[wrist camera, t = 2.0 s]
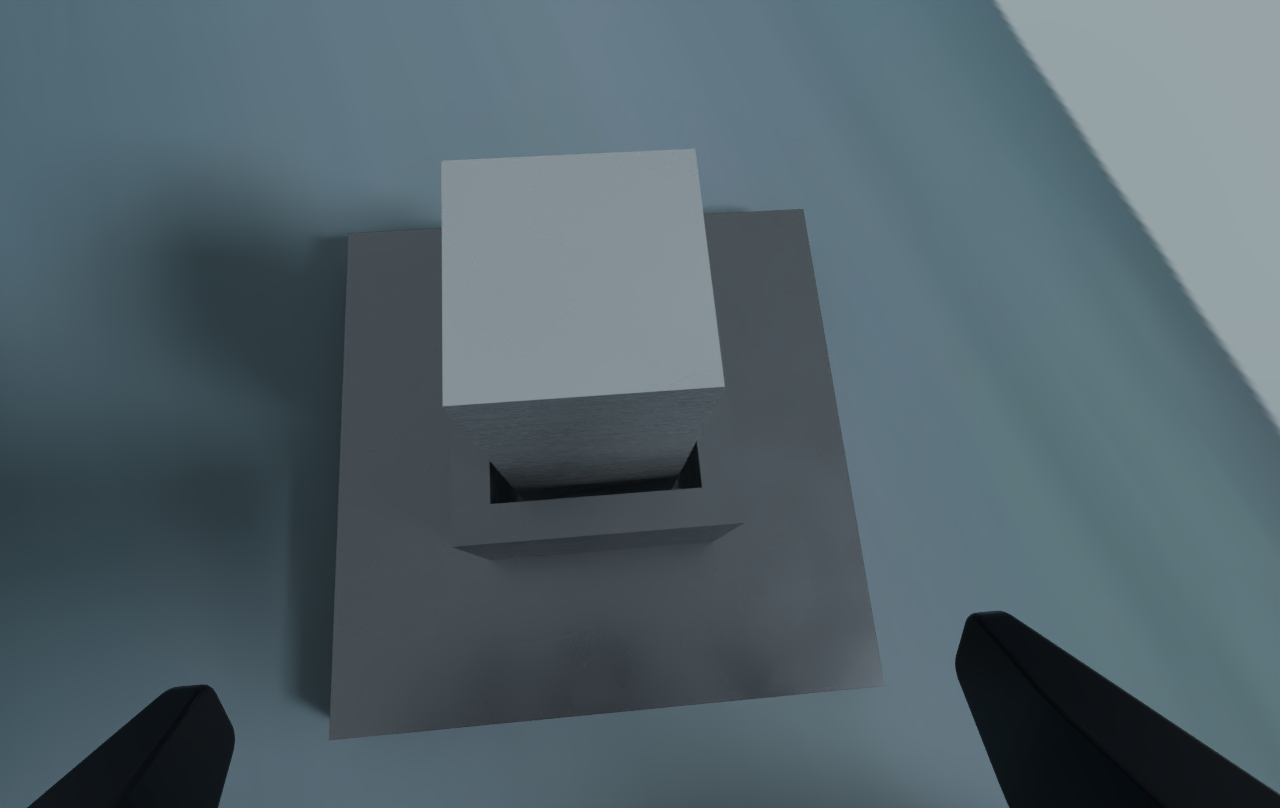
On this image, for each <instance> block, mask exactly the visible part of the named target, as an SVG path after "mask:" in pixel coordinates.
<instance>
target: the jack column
mask: <svg viewBox="0 0 1280 808" xmlns="http://www.w3.org/2000/svg"><path fill="white" fill-rule="evenodd" d="M441 163H442V382H443V407H444V408H445V410H446V411H447V412H448V413H449V414H450V415H451V417H452V418H453V419H454V420H455V421H456V422H457V424H458V425H459V426H460V427H461V428H462V429H463V430H464V432H465V433H466V434H467V435H468V436H469V437H470V439H471V440H472V441H473V442H474V443H475V444H476V445H477V447H478V448H479V449H480V450H481V451H482V452H483V454H484V455H485V456H486V457H487V458H488V459H489V461H490V462H491V463H492V464H493V465H494V466H495V467H496V469H497V470H498V471H499V472H500V473H501V474H502V476H503V477H504V478H505V479H506V480H507V481H508V482H509V484H510V485H511V486H512V487H513V488H514V489H515V491H516V492H517V493H518V494H519V495H520V496H521V498H522V499H523V500H524V501H537V500H550V499H563V498H576V497H589V496H601V495H614V494H627V493H640V492H652V491H665V490H671V489H672V487H673V485H674V483H675V481H676V479H677V477H678V476H679V474H680V472H681V470H682V468H683V466H684V464H685V462H686V460H687V458H688V456H689V455H690V453H691V451H692V449H693V447H694V445H695V443H696V441H697V439H698V437H699V435H700V433H701V432H702V430H703V428H704V426H705V424H706V422H707V420H708V418H709V416H710V414H711V412H712V410H713V409H714V407H715V405H716V403H717V401H718V399H719V397H720V395H721V393H722V391H723V389H724V387H725V384H724V376H723V368H722V360H721V352H720V344H719V336H718V328H717V319H716V311H715V303H714V295H713V287H712V279H711V271H710V263H709V255H708V247H707V239H706V231H705V223H704V215H703V207H702V199H701V191H700V183H699V175H698V167H697V159H696V151H695V149H679V150H658V151H637V152H616V153H595V154H574V155H553V156H532V157H511V158H491V159H470V160H449V161H441Z"/></svg>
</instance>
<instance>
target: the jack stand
mask: <svg viewBox="0 0 1280 808" xmlns="http://www.w3.org/2000/svg"><path fill="white" fill-rule="evenodd" d="M703 215H704V223H705V231H706V239H707V247H708V255H709V263H710V271H711V279H712V287H713V295H714V303H715V311H716V319H717V328H718V336H719V344H720V352H721V360H722V368H723V376H724V384H725V387H724V389H723V391H722V393H721V395H720V397H719V399H718V401H717V403H716V405H715V407H714V409H713V410H712V412H711V414H710V416H709V418H708V420H707V422H706V424H705V426H704V428H703V430H702V432H701V433H700V435H699V437H698V439H697V441H696V443H695V445H694V447H693V449H692V451H691V453H690V455H689V456H688V458H687V460H686V462H685V464H684V466H683V468H682V470H681V472H680V474H679V476H678V477H677V479H676V481H675V483H674V485H673V487H672V489H671V490H665V491H652V492H640V493H627V494H614V495H601V496H589V497H576V498H563V499H550V500H537V501H524V500H523V499H522V498H521V496H520V495H519V494H518V493H517V492H516V491H515V489H514V488H513V487H512V486H511V485H510V484H509V482H508V481H507V480H506V479H505V478H504V477H503V476H502V474H501V473H500V472H499V471H498V470H497V469H496V467H495V466H494V465H493V464H492V463H491V462H490V461H489V459H488V458H487V457H486V456H485V455H484V454H483V452H482V451H481V450H480V449H479V448H478V447H477V445H476V444H475V443H474V442H473V441H472V440H471V439H470V437H469V436H468V435H467V434H466V433H465V432H464V430H463V429H462V428H461V427H460V426H459V425H458V424H457V422H456V421H455V420H454V419H453V418H452V417H451V415H450V414H449V413H448V412H447V411H446V410H445V408H444V407H443V382H442V228H439V229H421V230H402V231H383V232H365V233H348V256H347V283H346V309H345V335H344V362H343V388H342V414H341V441H340V467H339V493H338V520H337V546H336V572H335V599H334V625H333V651H332V678H331V704H330V730H329V740H337V739H347V738H357V737H368V736H378V735H388V734H398V733H408V732H419V731H429V730H439V729H449V728H460V727H470V726H480V725H490V724H500V723H511V722H521V721H531V720H541V719H551V718H562V717H572V716H582V715H592V714H603V713H613V712H623V711H633V710H643V709H654V708H664V707H674V706H684V705H695V704H705V703H715V702H725V701H735V700H746V699H756V698H766V697H776V696H787V695H797V694H807V693H817V692H827V691H838V690H848V689H858V688H868V687H878V686H885V685H884V679H883V673H882V667H881V662H880V656H879V650H878V644H877V638H876V632H875V627H874V621H873V615H872V609H871V603H870V597H869V591H868V586H867V580H866V574H865V568H864V562H863V556H862V551H861V545H860V539H859V533H858V527H857V521H856V515H855V510H854V504H853V498H852V492H851V486H850V480H849V474H848V469H847V463H846V457H845V451H844V445H843V439H842V434H841V428H840V422H839V416H838V410H837V404H836V398H835V393H834V387H833V381H832V375H831V369H830V363H829V358H828V352H827V346H826V340H825V334H824V328H823V322H822V317H821V311H820V305H819V299H818V293H817V287H816V282H815V276H814V270H813V264H812V258H811V252H810V246H809V241H808V235H807V229H806V223H805V217H804V211H803V209H794V210H775V211H756V212H738V213H719V214H703Z"/></svg>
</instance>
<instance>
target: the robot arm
mask: <svg viewBox="0 0 1280 808" xmlns="http://www.w3.org/2000/svg"><path fill="white" fill-rule="evenodd" d="M955 667H956V673H957V677H958V680H959V682H960V685H961V688H962V690H963V693H964V695H965V698H966V700H967V703H968V705H969V708H970V711H971V713H972V716H973V718H974V721H975V723H976V726H977V728H978V731H979V734H980V736H981V739H982V741H983V744H984V746H985V749H986V751H987V754H988V756H989V759H990V762H991V764H992V767H993V769H994V772H995V774H996V777H997V779H998V782H999V784H1000V787H1001V789H1002V792H1003V794H1004V796H1005V799H1006V801H1007V803H1008V805H1009V808H1280V794H1279V793H1277V792H1276V791H1274V790H1273V789H1271V788H1270V787H1268V786H1267V785H1265V784H1264V783H1262V782H1261V781H1259V780H1258V779H1256V778H1255V777H1253V776H1252V775H1250V774H1249V773H1247V772H1246V771H1244V770H1243V769H1241V768H1240V767H1238V766H1237V765H1235V764H1234V763H1232V762H1231V761H1229V760H1228V759H1226V758H1225V757H1223V756H1222V755H1220V754H1219V753H1217V752H1216V751H1214V750H1213V749H1211V748H1210V747H1208V746H1207V745H1205V744H1204V743H1202V742H1201V741H1199V740H1198V739H1196V738H1195V737H1193V736H1192V735H1190V734H1189V733H1187V732H1186V731H1184V730H1183V729H1181V728H1180V727H1178V726H1177V725H1175V724H1174V723H1172V722H1171V721H1169V720H1168V719H1166V718H1165V717H1163V716H1162V715H1160V714H1159V713H1157V712H1156V711H1154V710H1153V709H1151V708H1150V707H1148V706H1147V705H1145V704H1144V703H1142V702H1141V701H1139V700H1138V699H1136V698H1135V697H1133V696H1132V695H1130V694H1129V693H1127V692H1126V691H1124V690H1123V689H1121V688H1120V687H1118V686H1117V685H1115V684H1114V683H1112V682H1111V681H1109V680H1108V679H1106V678H1105V677H1103V676H1102V675H1100V674H1099V673H1097V672H1096V671H1094V670H1093V669H1091V668H1090V667H1088V666H1087V665H1085V664H1084V663H1082V662H1081V661H1079V660H1078V659H1076V658H1075V657H1073V656H1072V655H1070V654H1069V653H1067V652H1066V651H1064V650H1063V649H1061V648H1060V647H1058V646H1057V645H1055V644H1054V643H1052V642H1051V641H1049V640H1048V639H1046V638H1045V637H1044V636H1042V635H1041V634H1039V633H1038V632H1036V631H1035V630H1033V629H1032V628H1030V627H1029V626H1027V625H1026V624H1024V623H1023V622H1021V621H1020V620H1018V619H1017V618H1015V617H1014V616H1012V615H1010V614H1008V613H1006V612H1003V611H989V612H978V613H973V614H971V615H970V616H969V617H968V618H967V620H966V622H965V626H964V629H963V633H962V637H961V640H960V644H959V647H958V651H957V654H956V659H955ZM234 744H235V734H234V729H233V726H232V724H231V722H230V720H229V718H228V716H227V714H226V712H225V710H224V708H223V706H222V704H221V702H220V700H219V698H218V696H217V694H216V692H215V691H214V689H213V688H211V687H210V686H208V685H192V686H181V687H174V688H171V689H169V690H167V691H165V692H164V693H162V694H161V695H160V696H159V697H157V698H156V699H155V700H154V701H153V702H151V703H150V704H149V705H148V706H147V707H146V708H144V709H143V710H142V711H141V712H140V713H138V714H137V715H136V716H135V717H134V718H133V719H131V720H130V721H129V722H128V723H127V724H125V725H124V726H123V727H122V728H121V729H120V730H118V731H117V732H116V733H115V734H114V735H112V736H111V737H110V738H109V739H108V740H107V741H105V742H104V743H103V744H102V745H101V746H99V747H98V748H97V749H96V750H95V751H94V752H92V753H91V754H90V755H89V756H88V757H86V758H85V759H84V760H83V761H82V762H81V763H79V764H78V765H77V766H76V767H75V768H73V769H72V770H71V771H70V772H69V773H68V774H66V775H65V776H64V777H63V778H62V779H60V780H59V781H58V782H57V783H56V784H55V785H53V786H52V787H51V788H50V789H49V790H47V791H46V792H45V793H44V794H43V795H42V796H40V797H39V798H38V799H37V800H36V801H34V802H33V803H32V804H31V805H30V806H29V807H27V808H218V806H219V802H220V798H221V795H222V791H223V787H224V784H225V780H226V776H227V773H228V769H229V765H230V762H231V758H232V754H233V750H234Z"/></svg>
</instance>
